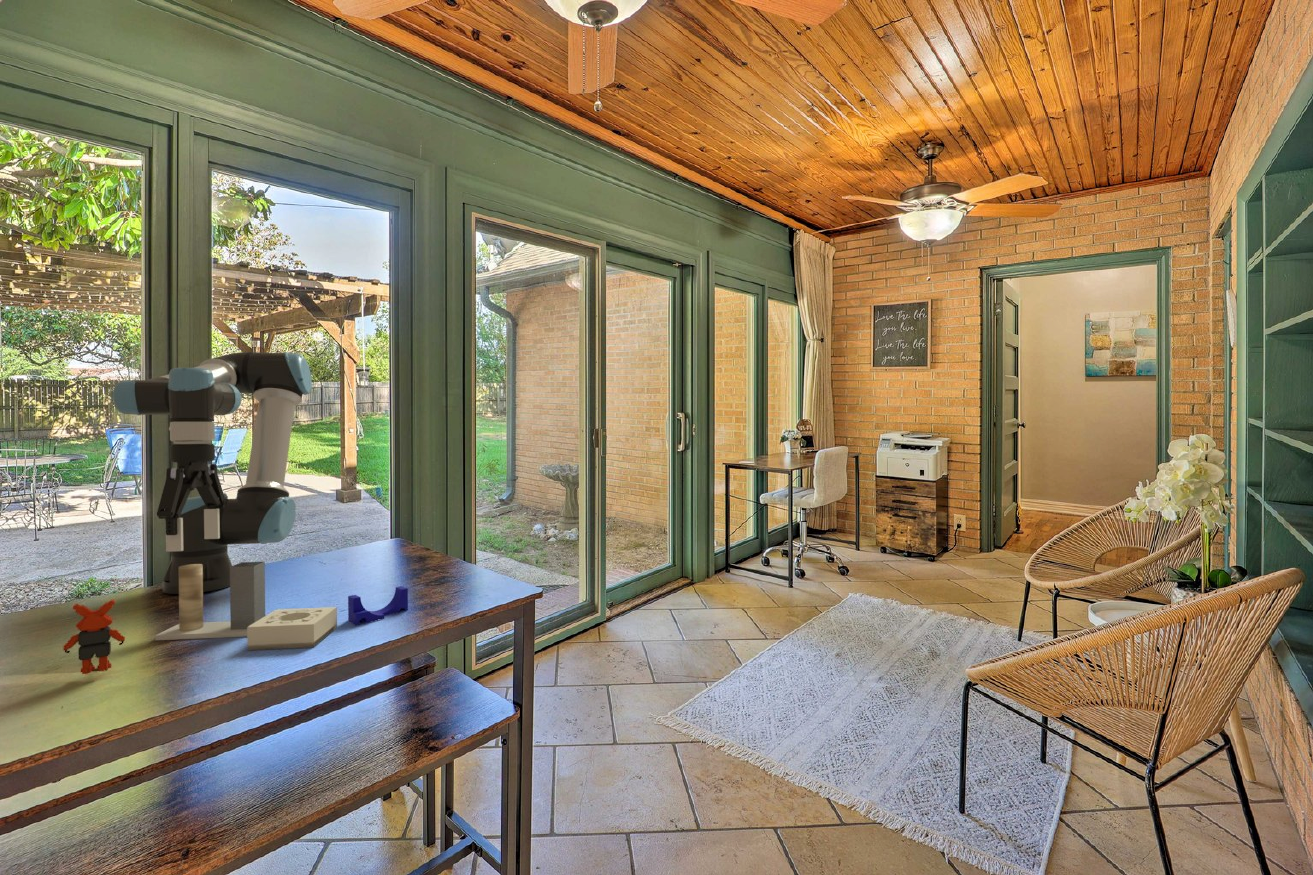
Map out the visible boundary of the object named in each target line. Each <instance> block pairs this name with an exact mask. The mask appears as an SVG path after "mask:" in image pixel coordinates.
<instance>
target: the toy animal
mask: <svg viewBox="0 0 1313 875" xmlns="http://www.w3.org/2000/svg"><path fill="white" fill-rule="evenodd" d="M115 604H116V600H115V599H111V600H109V601H107V602H105V603H104V604H102V606H100V608H98V609H96V610H92V609H91V608H89V607H87V606H85V605H84V604H83V605H82V604H81V605H80V604H79V603H75V604H74V605H73V606H72V609H73V610H74V611H75V614H77V615H79V616H81V617H82V618H81V620H79V621H78V622H77V624H75V628H76V629H77V630H78V631H79V633H77V634H74V635H71V636H70V639H68V641H67V642H66V644H63V646H62V647H63V651H64V653H66V654H70V652H71V650H70V649H72V648H73V647H74V645H76V644H77V645H78V646H79V648H78V651H77V652H78V660H79V661H81V668H80V673H81V674H82V675H88V674H91V673H92V672H93V671H96V669H97V670H98V672H105V671H107V670H108V669H110V668H111V667H112V663H111V662H110V660H109V659H108V658H109V657H108V656H110V654H111V653H112V652H111V650H112V648H111V647H112V646H111V645H112V644H111V643H112V641H111V640H110V639H111V638H112V639H113V640H116V641H117V642H119V644H118V645H119V646H122V645H123V644H124V642H125V641H126V636H124V635H122V633H120V632H119V630H117V629H113V628H111V627H110V625H111V624H112V623H113V622H114V618H113V617H112V616H110V615H108V613H109V611H110V610H111V609H113V606H114V605H115ZM94 656H95V658H96V659H98V665H97V667H96V666H95V665H93V662H92V659H93V658H94Z"/></svg>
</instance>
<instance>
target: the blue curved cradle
mask: <svg viewBox="0 0 1313 875" xmlns="http://www.w3.org/2000/svg"><path fill="white" fill-rule="evenodd" d="M408 590H409V588H408V587H405V586H402V585H401V586H396V587H395V592H394V595H393V597H392V599H391V600H390V602H389V603H388V604H387V605H385V606H384V607H383V608H381V609H378V610H371V611H370V610H367V609H366V608H365V607H364V605H363V603H362V600H361V596H358V595H357V594H352V595H348V596H347V613H348V614H347V616H348V622H350V623H352V624H353V625H355V627H357V625H358V626H360V625H361V624H360V621H362V623H364V624H368V623H372V622H371V621H373V622H376V621H375V620H377V621H379V620H378V619H381V620H385V617H386V615H387V616H389V615H394V614H398V613H400V610H404V611H409V594H408V593H409V591H408ZM402 608H403V609H402ZM393 613H394V614H393ZM360 619H361V620H360Z"/></svg>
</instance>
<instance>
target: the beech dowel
mask: <svg viewBox="0 0 1313 875" xmlns="http://www.w3.org/2000/svg"><path fill="white" fill-rule="evenodd" d="M178 613H179V614H178V619H179V620H178V622H179V623H178V624H179V630H180V631H193V630H197V629H200V628H202V627H203V622H204V592H203V565H202V564H190V565H183V566H180V567H179V594H178Z"/></svg>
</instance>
